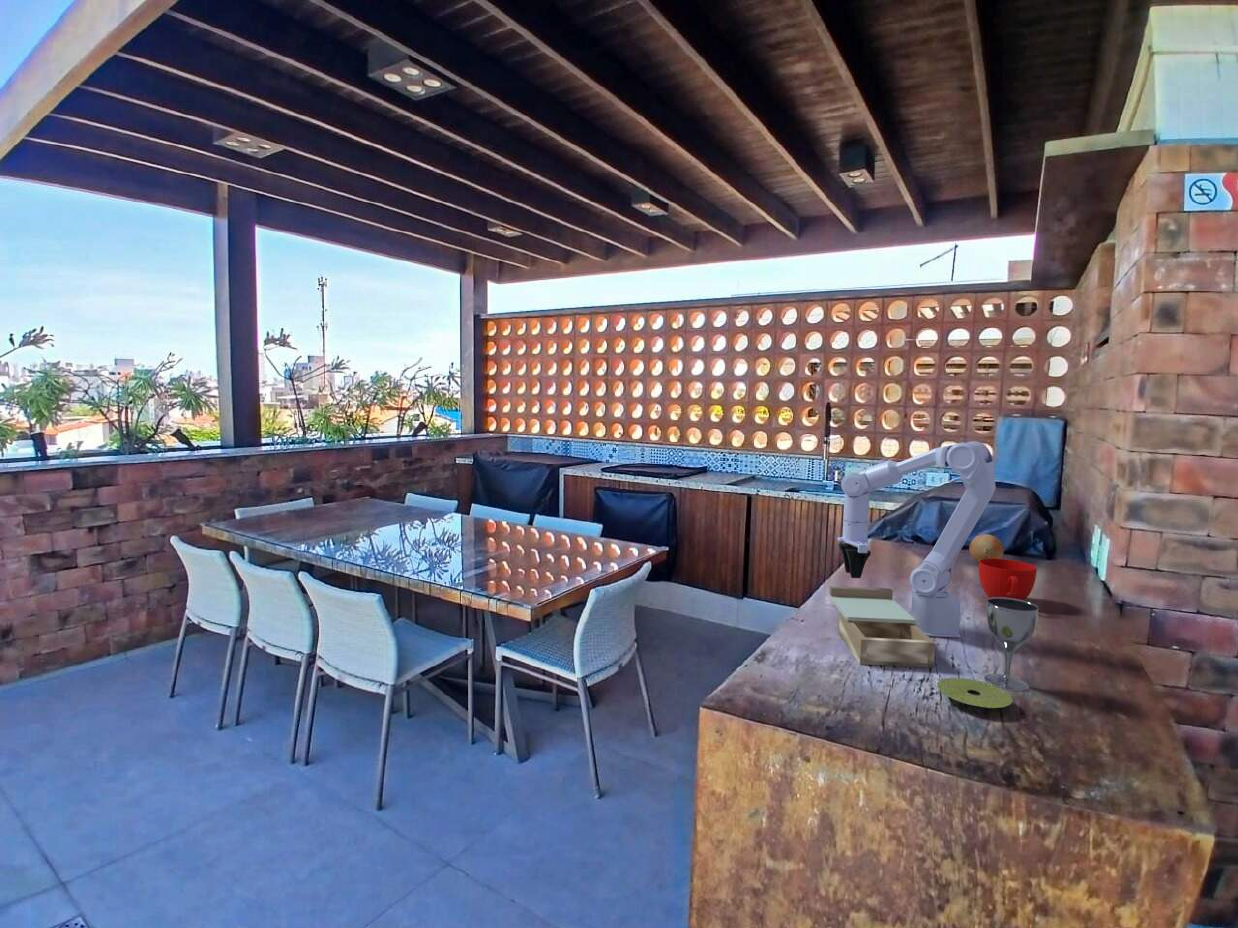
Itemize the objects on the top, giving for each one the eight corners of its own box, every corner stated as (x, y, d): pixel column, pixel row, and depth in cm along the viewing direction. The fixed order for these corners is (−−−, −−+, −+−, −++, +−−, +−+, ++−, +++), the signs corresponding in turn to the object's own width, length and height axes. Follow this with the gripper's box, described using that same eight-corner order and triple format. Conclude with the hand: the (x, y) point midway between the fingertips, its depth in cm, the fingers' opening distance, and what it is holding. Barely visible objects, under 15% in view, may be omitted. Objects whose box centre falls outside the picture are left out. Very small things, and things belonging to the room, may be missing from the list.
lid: (889, 600, 145) (890, 588, 145) (915, 623, 129) (916, 610, 129) (829, 597, 147) (829, 586, 146) (847, 620, 131) (847, 607, 130)
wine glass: (1016, 695, 109) (1022, 613, 107) (972, 677, 116) (977, 600, 114) (1041, 686, 112) (1047, 607, 111) (997, 670, 119) (1003, 594, 118)
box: (903, 637, 136) (905, 615, 135) (933, 667, 120) (935, 642, 119) (838, 634, 137) (839, 612, 137) (859, 663, 121) (861, 639, 121)
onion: (975, 567, 198) (977, 536, 197) (963, 559, 208) (965, 530, 207) (1008, 568, 197) (1010, 538, 196) (994, 561, 206) (996, 532, 205)
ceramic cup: (983, 609, 156) (986, 571, 155) (972, 591, 171) (975, 556, 170) (1043, 616, 151) (1047, 577, 150) (1027, 597, 166) (1030, 561, 166)
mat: (981, 723, 99) (982, 712, 98) (921, 693, 109) (922, 683, 109) (1026, 710, 103) (1027, 699, 103) (965, 683, 113) (966, 672, 113)
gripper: (831, 515, 158) (829, 566, 159) (846, 525, 143) (844, 582, 145) (859, 516, 157) (857, 567, 158) (878, 526, 143) (875, 583, 144)
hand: (853, 575), depth 151 cm, fingers open, 4 cm apart
